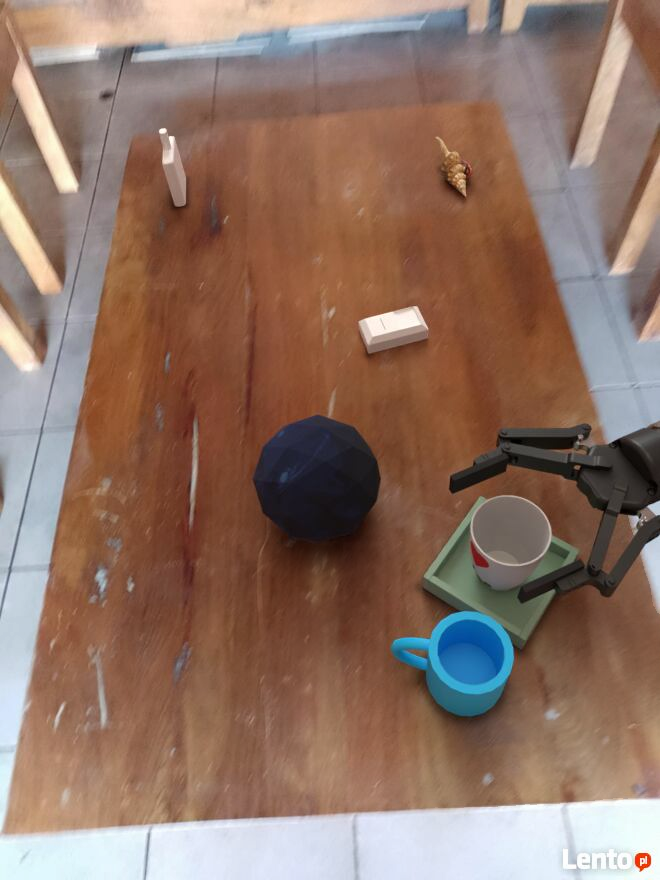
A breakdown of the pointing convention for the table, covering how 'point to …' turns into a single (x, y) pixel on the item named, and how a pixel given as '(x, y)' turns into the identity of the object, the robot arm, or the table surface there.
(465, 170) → the spiral snail shell
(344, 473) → the decorative orb
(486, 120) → the table surface
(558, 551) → the tray
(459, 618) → the mug
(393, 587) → the table surface
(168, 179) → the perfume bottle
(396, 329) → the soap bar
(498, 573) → the cup
